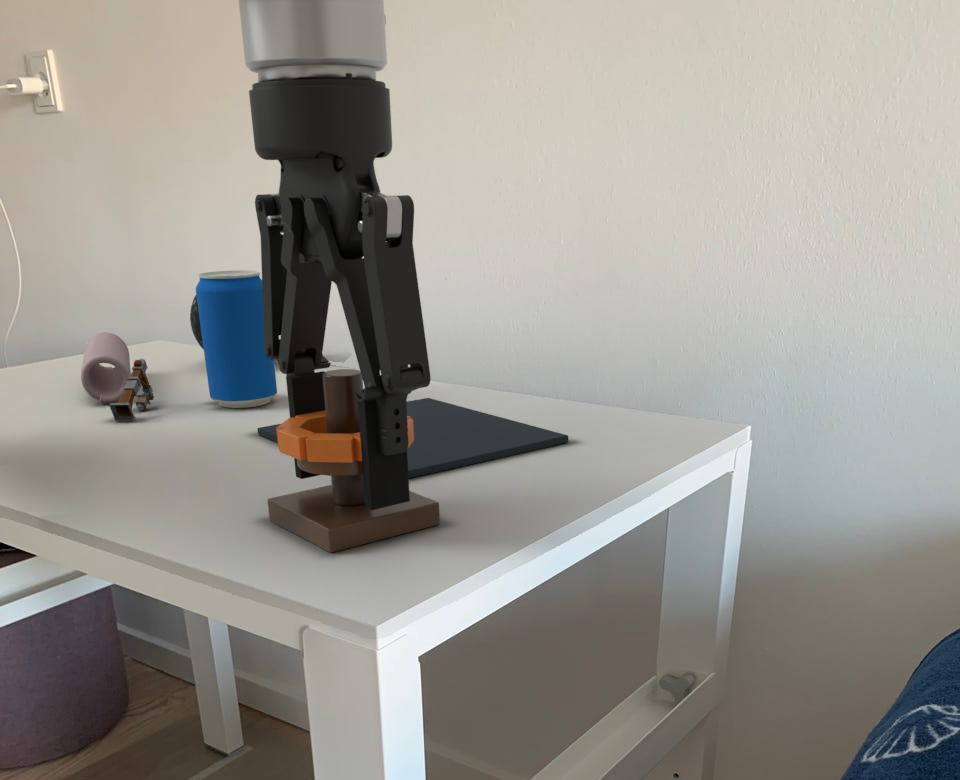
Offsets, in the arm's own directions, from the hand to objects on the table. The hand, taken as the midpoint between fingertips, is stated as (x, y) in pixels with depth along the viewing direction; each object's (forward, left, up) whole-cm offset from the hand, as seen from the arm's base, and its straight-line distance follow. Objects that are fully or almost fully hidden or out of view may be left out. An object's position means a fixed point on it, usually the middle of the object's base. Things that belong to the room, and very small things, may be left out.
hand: (350, 488), depth 63 cm
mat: (-16, +15, -2) cm, 22 cm away
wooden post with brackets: (-42, +1, -3) cm, 42 cm away
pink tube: (-56, +4, -2) cm, 56 cm away
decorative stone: (-59, +20, -2) cm, 62 cm away
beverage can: (-39, +11, -2) cm, 41 cm away
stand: (0, 0, -2) cm, 2 cm away
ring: (0, 0, +3) cm, 3 cm away
